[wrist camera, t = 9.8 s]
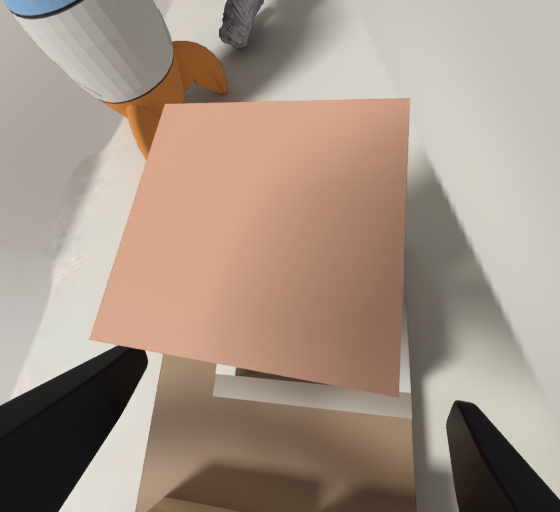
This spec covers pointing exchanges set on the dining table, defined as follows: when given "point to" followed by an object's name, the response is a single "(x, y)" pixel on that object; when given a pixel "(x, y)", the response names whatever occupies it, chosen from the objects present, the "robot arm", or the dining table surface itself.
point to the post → (269, 241)
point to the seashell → (238, 21)
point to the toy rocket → (121, 55)
